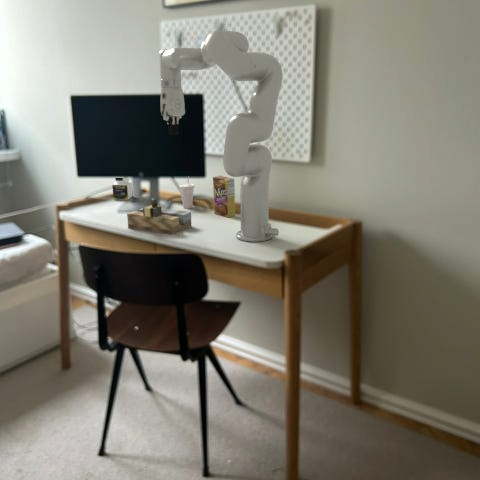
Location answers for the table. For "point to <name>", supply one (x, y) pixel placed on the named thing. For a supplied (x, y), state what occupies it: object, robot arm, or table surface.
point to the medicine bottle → (122, 189)
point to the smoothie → (187, 194)
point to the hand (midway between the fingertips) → (173, 134)
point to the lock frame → (160, 220)
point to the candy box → (224, 196)
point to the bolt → (151, 207)
